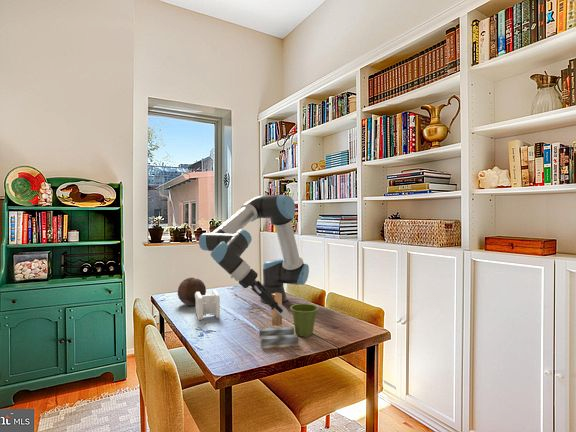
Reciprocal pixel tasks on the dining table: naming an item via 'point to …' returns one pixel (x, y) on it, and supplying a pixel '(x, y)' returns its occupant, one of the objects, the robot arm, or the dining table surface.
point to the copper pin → (275, 315)
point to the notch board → (277, 337)
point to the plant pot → (304, 318)
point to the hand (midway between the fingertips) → (286, 315)
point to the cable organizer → (207, 304)
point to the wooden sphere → (190, 290)
